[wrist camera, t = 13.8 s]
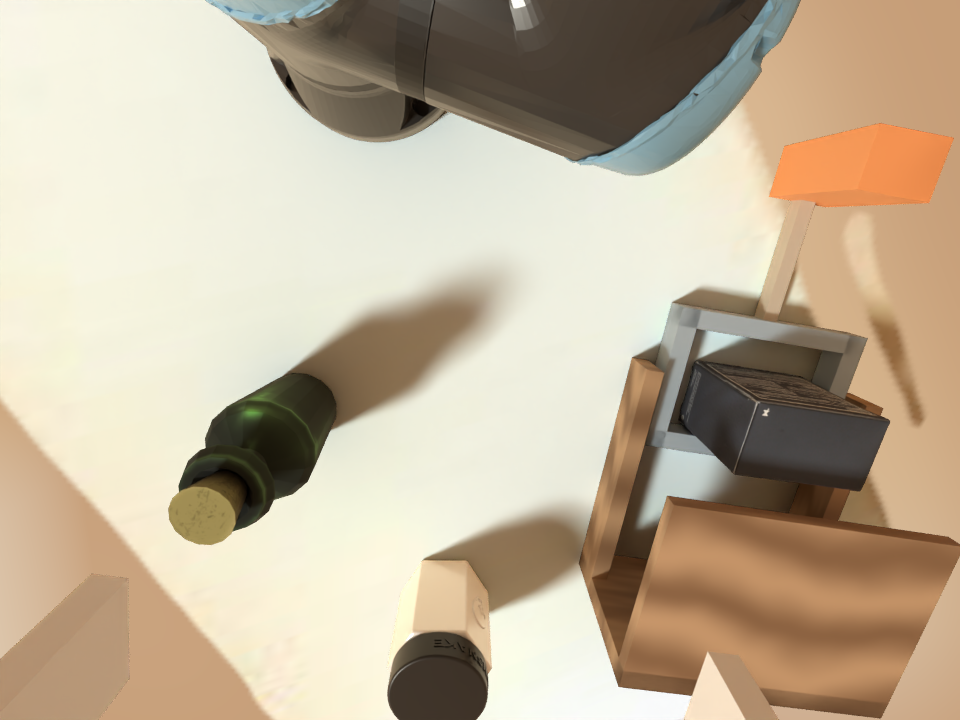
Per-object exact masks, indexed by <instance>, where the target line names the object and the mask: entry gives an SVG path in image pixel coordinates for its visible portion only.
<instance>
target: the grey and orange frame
mask: <svg viewBox="0 0 960 720" xmlns="http://www.w3.org/2000/svg"><path fill="white" fill-rule="evenodd" d="M953 139H954V138H952V137H947V136H942V135H937V134H932V133H927V132H921V131H917V130H912V129H907V128H902V127H897V126H892V125H886V124H881V123H879V124H875V125H871V126H866V127H862V128H858V129H854V130H850V131H845V132H841V133H837V134H833V135H829V136H824V137H820V138H816V139H812V140H808V141H804V142H799V143H795V144H791V145H787V146H784V150H783V153H782V156H781V159H780V163H779V166H778V169H777V172H776V176H775V179H774V182H773V186H772V189H771V192H770V195H769V197H774V198H779V199H784V200H790V204H789V207H788V210H787V213H786V217H785V220H784V223H783V226H782V229H781V232H780V236H779V239H778V242H777V245H776V248H775V251H774V255H773V258H772V261H771V264H770V267H769V270H768V274H767V277H766V280H765V283H764V286H763V289H762V293H761V296H760V299H759V302H758V305H757V308H756V312H755V315H754V316H748V315H743V314H737V313H731V312H725V311H719V310H713V309H707V308H702V307H696V306H690V305H684V304H678V303H672V304H671V308H670V312H669V315H668V319H667V323H666V326H665V330H664V334H663V338H662V341H661V345H660V349H659V352H658V356H657V360H656V363H655V366H656V367H657V368H659V369H660V370H661V371H663V372H664V376H663V380H662V383H661V387H660V391H659V394H658V398H657V401H656V405H655V409H654V412H653V416H652V419H651V423H650V427H649V430H648V434H647V437H646V441H645V445H647V446H653V447H660V448H666V449H673V450H680V451H686V452H693V453H699V454H706V455H713V456H715V455H714V454H713V453H712V452H711V451H710V450H709V449H708V448H707V447H706V446H705V445H704V444H703V443H702V442H701V441H700V440H699V439H698V438H697V437H696V436H695V435H694V434H693V433H692V432H691V431H690V430H688V429H687V428H686V427H685V426H684V425H680V424H673V423H670V419H671V416H672V412H673V409H674V406H675V402H676V399H677V395H678V392H679V388H680V385H681V381H682V378H683V374H684V371H685V367H686V364H687V360H688V357H689V353H690V350H691V346H692V343H693V340H694V336H695V333H696V329H701V330H707V331H713V332H719V333H725V334H731V335H737V336H743V337H749V338H755V339H761V340H767V341H773V342H779V343H785V344H791V345H797V346H802V347H808V348H814V349H820V350H822V353H821V356H820V359H819V362H818V364H817V367H816V370H815V373H814V376H813V378H812V381H811V382H812V383H813V384H816V385H817V386H819V387H821V388H823V389H825V390H827V391H829V392H831V393H833V394H835V395H837V396H839V397H841V398H843V399H845V397H846V394H847V392H848V389H849V386H850V384H851V381H852V378H853V376H854V373H855V371H856V368H857V365H858V362H859V360H860V357H861V355H862V352H863V349H864V346H865V344H866V341H867V338H864V337H861V336H857V335H854V334H851V333H847V332H842V331H836V330H830V329H824V328H819V327H813V326H807V325H801V324H795V323H789V322H784V321H778V320H777V319H778V316H779V313H780V310H781V307H782V304H783V301H784V298H785V295H786V292H787V289H788V286H789V283H790V279H791V276H792V273H793V270H794V267H795V264H796V261H797V258H798V255H799V252H800V249H801V246H802V243H803V240H804V237H805V234H806V231H807V228H808V225H809V221H810V219H811V216H812V213H813V210H814V206H815V205H817V206H822V207H841V206H866V205H891V204H916V203H929V202H930V199H931V196H932V194H933V191H934V189H935V186H936V183H937V181H938V178H939V175H940V173H941V170H942V168H943V165H944V163H945V160H946V157H947V155H948V152H949V150H950V147H951V144H952V142H953Z"/></svg>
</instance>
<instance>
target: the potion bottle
mask: <svg viewBox="0 0 960 720" xmlns="http://www.w3.org/2000/svg"><path fill="white" fill-rule="evenodd" d="M335 418H336V401H335V399H334V397H333V395H332V392H331V390H330V389H329V388H328V387H327V386H326V385H325V384H324V383H323V382H322V381H321V380H319V379H316V378H314V377H312V376H310V375H308V374H294V373H292V374H289V375H286V376H283V377H280V378H278V379H276V380H275V381H273V382H271V383H269V384H267V385H265V386H264V387H262V388H260V389H258V390H256V391H255V392H253V393H251V394H249V395H247V396H245V397H244V398H242V399H240V400H238V401H236V402H235V403H233V404H231V405H229V406H227V407H226V408H225V409H224V410H223V411H222V412H221V413H220V414H218V415H217V416H216V417H215V418H214V419H213V420H212V422H211V425H210V427H209V430H208V432H207V435H206V437H205V445H206V448H205V449H202V450H200V451H199V452H198V453H196V454H195V455H194V456H193V457H192V458H191V459H190V460H189V461H188V463H187V465H186V468H185V470H184V473H183V475H182V478H181V480H180V483H179V493H178V494H177V495H176V496H174V497H173V498H172V501H171V503H170V506H169V508H168V511H169V520H170V522H171V524H172V526H173V527H174V529H175V531H176V532H177V533H179V534H180V535H181V536H182V537H183V538H184V539H186V540H188V541H191V542H194V543H196V544H204V545H212V544H215V543H218V542H222V541H223V540H225V539H226V538H227V537H228V536H229V535H230V534H231V533H232V531H235V530H239V529H242V528H245V527H247V526H249V525H251V524H253V523H255V522H257V521H258V520H259V519H260V518H261V517H263V516H264V515H265V514H266V513H267V512H268V511H269V509H270V507H271V505H272V503H273V501H274V500H275V499H279V498H282V497H285V496H288V495H291V494H294V493H295V492H296V491H297V490H298V489H299V488H301V487H302V486H303V485H304V484H305V483H307V482H308V480H309V477H310V475H311V473H312V471H313V469H314V467H315V464H316V462H317V460H318V458H319V455H320V453H321V451H322V448H323V446H324V444H325V441H326V439H327V437H328V434H329V432H330V430H331V427H332V425H333V423H334V420H335Z"/></svg>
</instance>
